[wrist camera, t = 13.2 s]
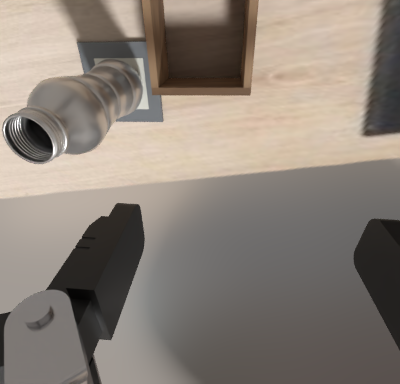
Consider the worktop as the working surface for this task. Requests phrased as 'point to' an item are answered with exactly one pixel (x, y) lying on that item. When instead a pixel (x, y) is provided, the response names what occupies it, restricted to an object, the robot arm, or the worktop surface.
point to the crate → (195, 86)
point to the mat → (134, 57)
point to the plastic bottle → (73, 112)
